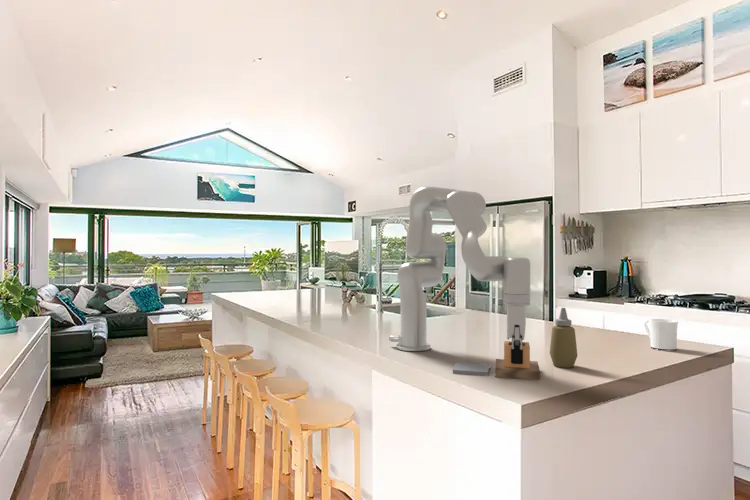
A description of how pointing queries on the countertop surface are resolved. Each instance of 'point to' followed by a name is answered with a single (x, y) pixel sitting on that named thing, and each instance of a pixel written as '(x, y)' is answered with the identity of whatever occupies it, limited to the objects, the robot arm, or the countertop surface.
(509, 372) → the stand
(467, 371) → the pad
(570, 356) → the squeeze bottle
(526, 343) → the collar
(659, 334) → the mug
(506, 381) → the countertop surface
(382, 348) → the countertop surface
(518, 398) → the countertop surface
